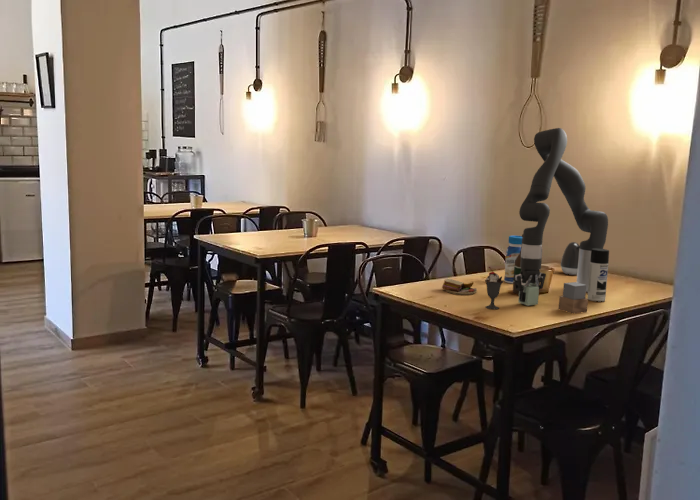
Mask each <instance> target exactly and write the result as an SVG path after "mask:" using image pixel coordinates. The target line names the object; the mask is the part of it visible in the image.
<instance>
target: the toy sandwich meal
mask: <svg viewBox="0 0 700 500" xmlns="http://www.w3.org/2000/svg"><path fill="white" fill-rule="evenodd" d="M474 284H475V282H474V281H473V282H470V283H465V282H463V281H459V280H455V279H453V278H446V279H444V282H443V284H442V286H441V288H442V289H443V290H445V291H446V292H447V293H449V294H452V295H457V296H470V295H474V294H476V292H478V291H477V290H478V289H477V288H473V286H474Z"/></svg>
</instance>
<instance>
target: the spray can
mask: <svg viewBox="0 0 700 500" xmlns="http://www.w3.org/2000/svg"><path fill="white" fill-rule="evenodd" d="M609 258H610V250H609V249H606V248H603V249H599V248H595V249H592V250H591V259H590V271H589V284H588V292H587V298H586V299H588V301H592V302H596V301H598V303H600V302H601V301H602V302H605V301H606V296H607V294H606V293H607V285H608V273H609Z"/></svg>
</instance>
